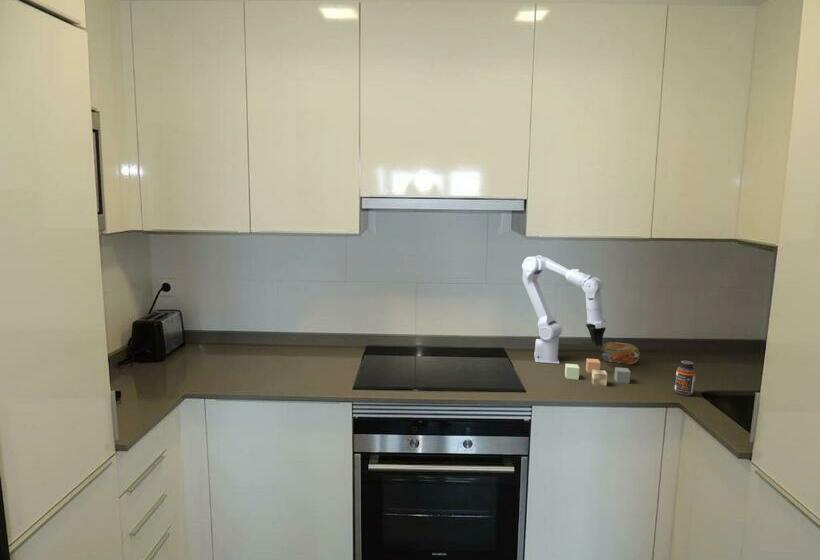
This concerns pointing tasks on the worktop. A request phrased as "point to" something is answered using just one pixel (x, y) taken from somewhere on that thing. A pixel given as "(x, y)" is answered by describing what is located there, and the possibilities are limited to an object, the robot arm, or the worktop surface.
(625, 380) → the slate block
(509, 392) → the worktop surface
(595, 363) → the terracotta block
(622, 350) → the tin
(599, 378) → the maple block
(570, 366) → the sage block
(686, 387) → the supplement bottle
